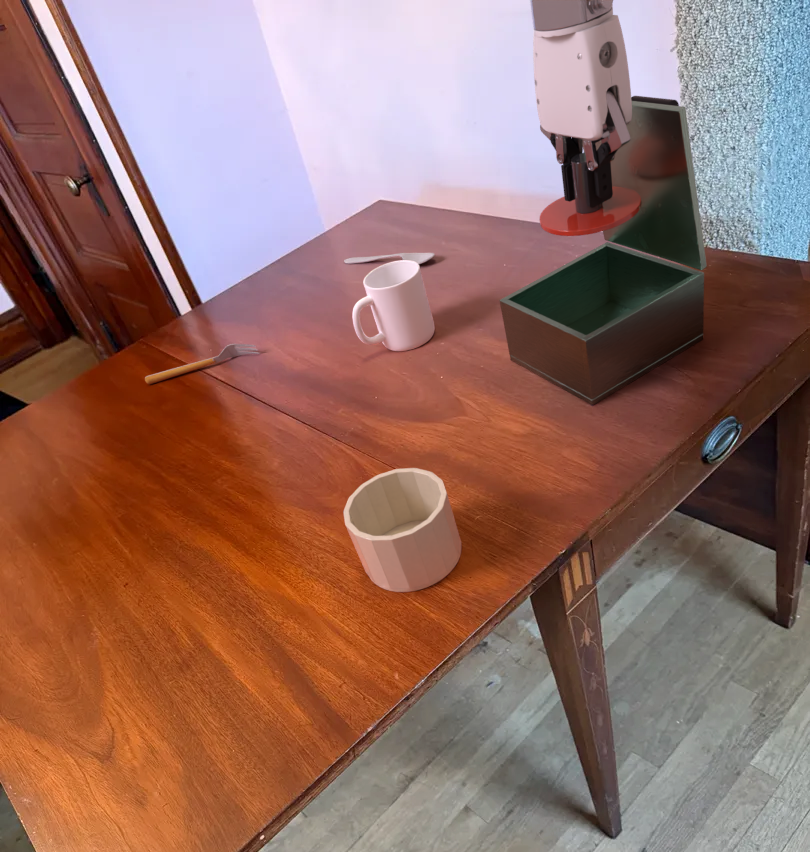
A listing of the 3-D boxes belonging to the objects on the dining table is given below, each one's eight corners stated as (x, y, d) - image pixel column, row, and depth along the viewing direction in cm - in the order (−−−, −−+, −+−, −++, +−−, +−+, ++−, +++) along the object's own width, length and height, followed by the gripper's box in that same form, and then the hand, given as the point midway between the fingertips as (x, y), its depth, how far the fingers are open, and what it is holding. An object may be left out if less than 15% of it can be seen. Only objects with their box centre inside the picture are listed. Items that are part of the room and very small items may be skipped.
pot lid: (642, 189, 87) (639, 128, 82) (641, 232, 79) (638, 167, 75) (545, 206, 91) (538, 148, 86) (536, 248, 83) (527, 187, 79)
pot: (469, 518, 80) (454, 465, 75) (451, 592, 73) (434, 538, 68) (379, 521, 84) (359, 470, 79) (354, 592, 77) (331, 541, 72)
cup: (446, 332, 110) (430, 267, 104) (379, 370, 108) (358, 306, 101) (417, 317, 116) (400, 255, 109) (352, 353, 113) (331, 291, 107)
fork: (141, 380, 122) (255, 344, 119) (142, 372, 123) (254, 336, 120) (149, 390, 124) (261, 355, 121) (150, 383, 125) (261, 347, 123)
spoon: (429, 269, 128) (427, 260, 126) (338, 266, 139) (335, 258, 138) (442, 257, 130) (439, 248, 129) (351, 255, 141) (348, 247, 140)
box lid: (679, 111, 73) (715, 83, 74) (570, 98, 85) (602, 74, 86) (701, 270, 86) (732, 246, 87) (604, 240, 98) (631, 219, 99)
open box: (592, 405, 89) (585, 340, 83) (510, 359, 100) (499, 300, 95) (703, 339, 92) (704, 272, 87) (611, 302, 104) (607, 241, 98)
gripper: (664, -9, 66) (668, 198, 79) (549, -6, 78) (568, 174, 90) (598, 21, 65) (612, 228, 77) (490, 20, 76) (518, 200, 89)
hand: (588, 197), depth 84 cm, fingers closed on pot lid, 3 cm apart
